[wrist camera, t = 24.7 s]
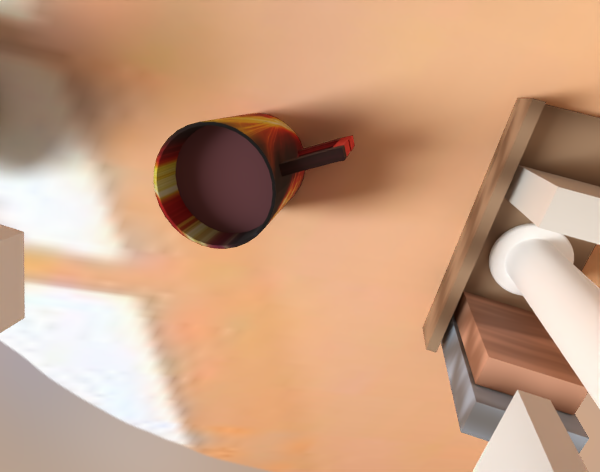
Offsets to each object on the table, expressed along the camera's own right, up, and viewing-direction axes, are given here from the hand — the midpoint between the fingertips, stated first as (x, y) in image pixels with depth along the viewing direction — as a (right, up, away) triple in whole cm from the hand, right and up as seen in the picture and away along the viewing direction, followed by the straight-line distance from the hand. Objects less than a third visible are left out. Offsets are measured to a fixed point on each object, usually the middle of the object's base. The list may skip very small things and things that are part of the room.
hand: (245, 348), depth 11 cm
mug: (-1, +12, +31) cm, 33 cm away
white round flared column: (+23, +1, +28) cm, 36 cm away
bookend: (+24, +7, +26) cm, 36 cm away
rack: (+23, +2, +29) cm, 37 cm away
